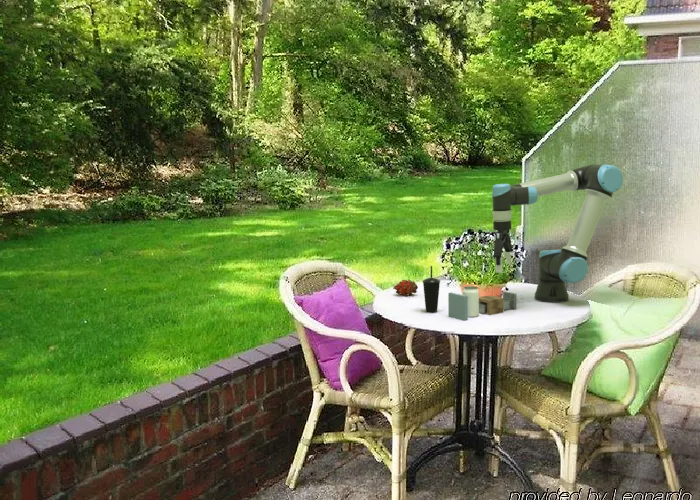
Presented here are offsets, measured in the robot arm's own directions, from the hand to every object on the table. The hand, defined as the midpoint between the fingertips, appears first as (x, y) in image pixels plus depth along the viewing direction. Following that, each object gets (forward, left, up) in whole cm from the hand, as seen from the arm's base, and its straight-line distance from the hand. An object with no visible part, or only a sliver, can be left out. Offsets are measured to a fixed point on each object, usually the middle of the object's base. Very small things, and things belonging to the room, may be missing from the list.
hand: (503, 269), depth 301 cm
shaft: (+4, 0, -17) cm, 18 cm away
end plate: (+26, 0, -18) cm, 31 cm away
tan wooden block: (+7, 0, -18) cm, 19 cm away
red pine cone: (+13, -51, -18) cm, 56 cm away
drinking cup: (+26, -16, -18) cm, 36 cm away
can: (+18, 0, -18) cm, 26 cm away
